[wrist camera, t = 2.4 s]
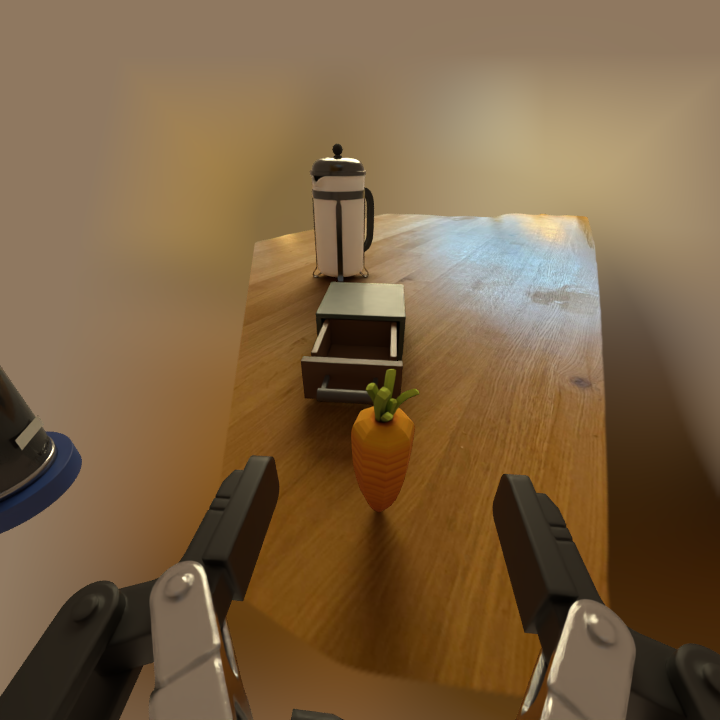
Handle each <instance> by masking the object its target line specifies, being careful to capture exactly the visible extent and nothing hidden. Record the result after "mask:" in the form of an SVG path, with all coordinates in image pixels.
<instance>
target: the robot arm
mask: <svg viewBox="0 0 720 720" xmlns="http://www.w3.org/2000/svg"><path fill="white" fill-rule="evenodd" d="M42 426H43V422H42V421H41V419H40V418H39V416H37V417H35V415H34V414H33V413H32V411H31V410H30V408H29V407H28V405H27V404H26V402H25V401H24V399H23V398H22V397H21V395H20V394H19V392H18V391H17V389H16V388H15V387H14V385H13V384H12V382H11V380H10V379H9V377H8V376H7V375H6V373H5V372H4V370H3V369H2V367H1V366H0V503H1V502H3V501H6V500H8V499H10V498H11V497H13V496H15V495H17V494H19V493H20V492H22V491H23V490H25V489H27V488H28V487H29V486H31V485H32V484H34V483H35V482H36V481H37V480H39V479H40V478H41V477H42V476H43V475H44V474H45V473H46V472H47V471H48V470H49V469H50V468H51V466H52V465H53V464H54V462H55V460H56V458H57V455H58V448H57V446H56V444H55V443H54V442H53V440H52V439H51V438H50V437H49V436H48V435H47V433H46V432H45V430H44V429H43V428H42ZM278 495H279V480H278V475H277V470H276V465H275V460H274V458H273V457H269V456H255V455H252V456H251V457H250V458H249V460H248V462H247V464H246V466H245V468H244V470H234V471H233V472H232V473H231V474H230V475H229V476H228V477H227V478H226V479H225V480H224V481H223V483H222V484H221V486H220V488H219V490H218V492H217V494H216V498H214V500H213V501H212V503H211V505H210V509H209V510H208V511H207V513H206V515H205V517H204V518H203V521H202V522H201V524H200V526H199V528H198V530H197V532H196V534H195V536H194V538H193V539H192V541H191V543H190V545H189V547H188V549H187V551H186V553H185V554H184V556H183V557H182V559H181V560H180V561H179V563H178V564H175V565H174V566H172V567H170V568H169V569H168V570H166V571H165V572H164V573H163V574H162V575H161V576H160V577H159V578H157V579H155V580H152V581H149V582H144V583H140V584H137V585H133V586H129V587H125V588H121V589H118V588H117V586H116V585H115V584H114V583H113V582H110V581H98V582H94V583H92V584H89V585H87V586H85V587H84V588H82V589H80V590H79V591H78V592H76V593H75V594H74V595H73V596H72V597H70V598H69V600H68V601H67V602H66V603H65V604H64V605H63V606H62V608H61V609H60V611H59V612H58V613H57V615H56V616H55V618H54V619H53V621H52V622H51V624H50V625H49V627H48V628H47V630H46V631H45V632H44V634H43V635H42V637H41V638H40V640H39V641H38V643H37V644H36V646H35V647H34V648H33V650H32V651H31V653H30V654H29V656H28V657H27V659H26V660H25V662H24V663H23V664H22V666H21V667H20V669H19V670H18V672H17V673H16V675H15V676H14V678H13V679H12V680H11V682H10V684H9V685H8V686H7V688H6V689H5V691H4V692H3V694H2V695H1V696H0V720H119V719H120V716H121V714H122V712H123V710H124V707H125V705H126V703H127V701H128V699H129V696H130V694H131V692H132V689H133V687H134V685H135V683H136V680H137V678H138V676H139V674H140V672H141V669H142V667H143V665H146V664H149V663H153V662H154V669H155V688H154V691H153V692H152V693H151V695H150V701H149V720H253V717H252V713H251V709H250V705H249V702H248V699H247V696H246V693H245V690H244V687H243V683H242V680H241V676H240V671H239V667H238V663H237V659H236V655H235V650H234V646H233V642H232V638H231V634H230V630H229V626H228V621H227V617H226V615H227V612H228V609H229V607H230V604H231V601H232V600H237V601H243V600H244V597H245V594H246V591H247V588H248V585H249V582H250V579H251V576H252V573H253V571H254V568H255V565H256V562H257V559H258V556H259V553H260V550H261V547H262V544H263V541H264V538H265V535H266V532H267V530H268V527H269V524H270V521H271V518H272V515H273V512H274V509H275V506H276V503H277V500H278ZM493 517H494V522H495V525H496V529H497V533H498V536H499V540H500V544H501V547H502V551H503V555H504V558H505V562H506V566H507V569H508V573H509V577H510V581H511V584H512V588H513V592H514V595H515V599H516V603H517V606H518V610H519V614H520V617H521V621H522V625H523V628H524V632H525V633H534V634H538V636H539V640H540V643H541V646H542V648H541V650H540V652H539V655H538V658H537V661H536V664H535V666H534V669H533V672H532V675H531V678H530V681H529V683H528V686H527V689H526V692H525V695H524V697H523V700H522V703H521V706H520V709H519V712H518V714H517V717H516V719H515V720H720V655H719V654H717V653H716V652H714V651H712V650H710V649H708V648H706V647H704V646H701V645H697V644H685V645H683V646H681V647H680V648H679V649H675V648H672V647H670V646H668V645H665V644H663V643H661V642H658V641H656V640H653V639H651V638H649V637H646V636H644V635H642V634H640V633H638V632H636V631H634V630H632V629H630V628H629V627H627V626H626V625H625V624H624V623H623V622H622V620H621V619H620V618H619V617H618V616H617V615H616V614H615V613H614V612H613V611H612V610H610V609H609V608H608V607H606V606H605V604H604V603H603V601H602V600H601V598H600V596H599V594H598V592H597V590H596V588H595V586H594V584H593V582H592V579H591V577H590V575H589V573H588V571H587V569H586V566H585V564H584V562H583V560H582V558H581V556H580V554H579V551H578V549H577V547H576V545H575V543H574V542H573V541H572V539H573V538H572V536H571V534H570V532H569V530H568V528H566V523H565V521H564V519H563V517H562V515H561V513H560V510H559V508H558V507H557V506H556V505H555V504H554V503H553V502H552V501H551V499H550V498H549V497H548V496H547V495H546V494H543V493H536V491H535V489H534V487H533V484H532V482H531V480H530V478H529V477H528V476H526V475H513V474H503V475H502V477H501V480H500V483H499V486H498V489H497V492H496V495H495V498H494V501H493ZM291 720H343V719H341V718H339V717H338V716H336V715H334V714H328V713H320V712H313V711H306V710H298V709H293V712H292V717H291Z"/></svg>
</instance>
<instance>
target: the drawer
mask: <svg viewBox="0 0 720 720" xmlns="http://www.w3.org/2000/svg"><path fill="white" fill-rule="evenodd" d="M396 360H397V327H396V321H377V320H354V319H330V318H326V319H325V321H324V323H323V326H322V328H321V330H320V333H319V335H318V337H317V340H316V342H315V345H314V347H313V349H312V352H311V357H309V356H303V358H302V360H301V367H302V376H303V386H304V395H305V398H309V399H317V401H326V402H343V403H359V404H374V403H373V401H372V399H371V397H370V396H369V395H368V393H367V391H366V388H367V386H368V385H369V384H370V383H375V384H376V386H377V388H378V390H380V389H381V388H382V387H384V382H385V375H386V371H387V370H389V369H394V370H396V376H395V382H394V387H393V392H392V397H391V399H392V398H393V399H397V398H398V397H399V396H400V393H401V381H402V370H403V361H396Z"/></svg>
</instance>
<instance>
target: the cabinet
mask: <svg viewBox="0 0 720 720" xmlns="http://www.w3.org/2000/svg"><path fill="white" fill-rule="evenodd" d="M326 318H330V319H354V320H377V321H396V327H397V360H402V355H403V343H404V331H405V319H406V315H405V299H404V285H403V284H376V283H347V282H331V284H330V286H329V288H328V290H327V292H326V294H325V296H324V298H323V300H322V302H321V304H320V306H319V308H318V310H317V312H316V323H317V337H318V335H319V333H320V330H321V328H322V326H323V323H324V321H325V319H326Z"/></svg>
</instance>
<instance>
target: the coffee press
mask: <svg viewBox="0 0 720 720" xmlns="http://www.w3.org/2000/svg"><path fill="white" fill-rule="evenodd" d="M332 150H333V153H334V154H335V156H334V158H321V159H318V160H317V161H315V163H314V164H313V166H312V170H311V171H310V174H311V177H312V185H313V189H312V197H313V198H314V200H313V213H314V214H315V215H314V230H316V231H315V246H317V247H316V262H317V261H318V269H319V271H320V273H319V274H318V275H317V276H315V275H314V272H315V270H316V269H317V267H316V269H315V270H314V272H313V277H315V278H317V277H318V276H319V275H320V274H324V275H327V276H331V277H338V282H343V277H349V276H353V275H356V274H358V273H360V274H362V275H363V276H364V277H367V276H368V274H367V275H364V274H363V273H361V271H362V269H363V263H364V252H365V251H367V250H368V249H369V247H370V246H371V243H372V240H373V229H374V201H373V196H372V193H371V191H370V190H369V189H367V188H365V187H364V177H365V175H366V171H364V167H363V165H362V163H361V162H360V161H359V160H357V159H353V158H342V156H340V154H341V153H342V150H343V149H342V146H341V145H340V144H335V145H334V146H333V149H332ZM365 198H366V201H367V236H366V240H365V243H364V244H363V236H364V231H365V217H364V216H365ZM364 268H365V267H364ZM365 270H366V268H365ZM366 272H367V273H368V271H367V270H366Z"/></svg>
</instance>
